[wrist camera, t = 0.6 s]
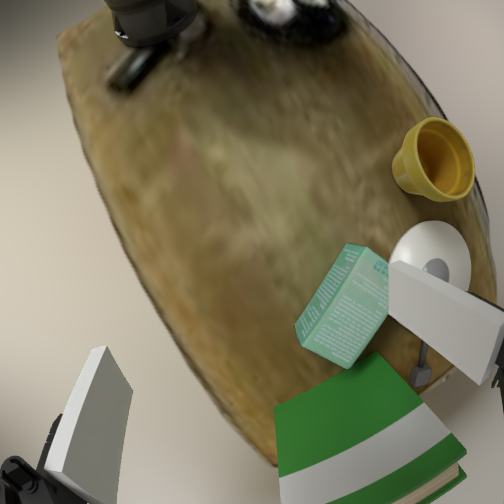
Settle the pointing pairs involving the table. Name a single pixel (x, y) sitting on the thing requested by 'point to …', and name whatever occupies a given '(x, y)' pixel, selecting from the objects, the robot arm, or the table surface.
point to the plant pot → (435, 162)
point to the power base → (434, 267)
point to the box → (346, 306)
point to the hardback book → (364, 442)
